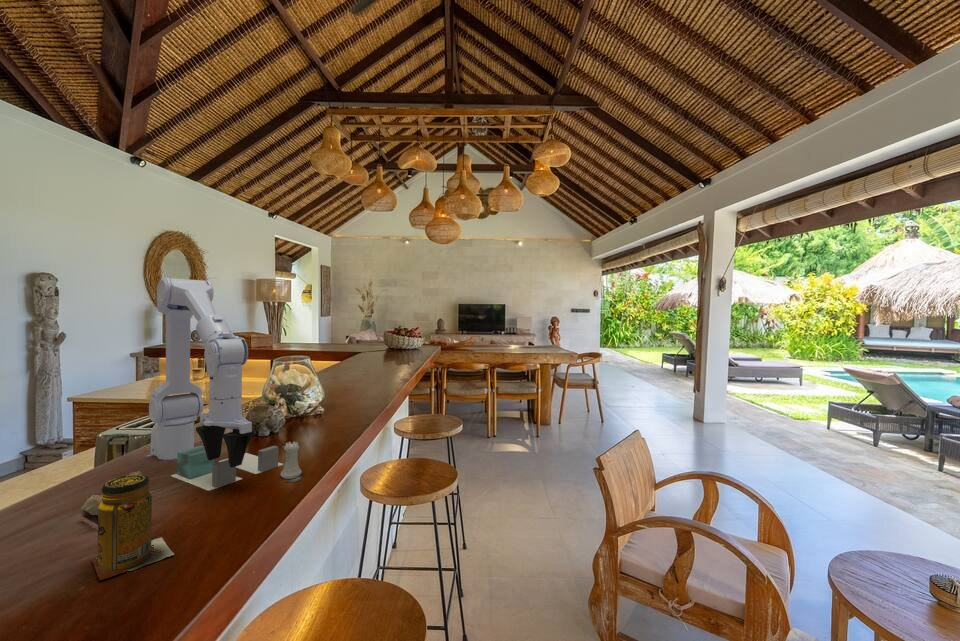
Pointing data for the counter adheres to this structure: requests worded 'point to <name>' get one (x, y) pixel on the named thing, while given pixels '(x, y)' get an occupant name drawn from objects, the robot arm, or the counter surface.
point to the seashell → (98, 500)
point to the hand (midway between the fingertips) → (224, 462)
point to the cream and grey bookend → (260, 460)
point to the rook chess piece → (291, 463)
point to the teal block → (193, 463)
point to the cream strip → (214, 476)
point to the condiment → (127, 525)
